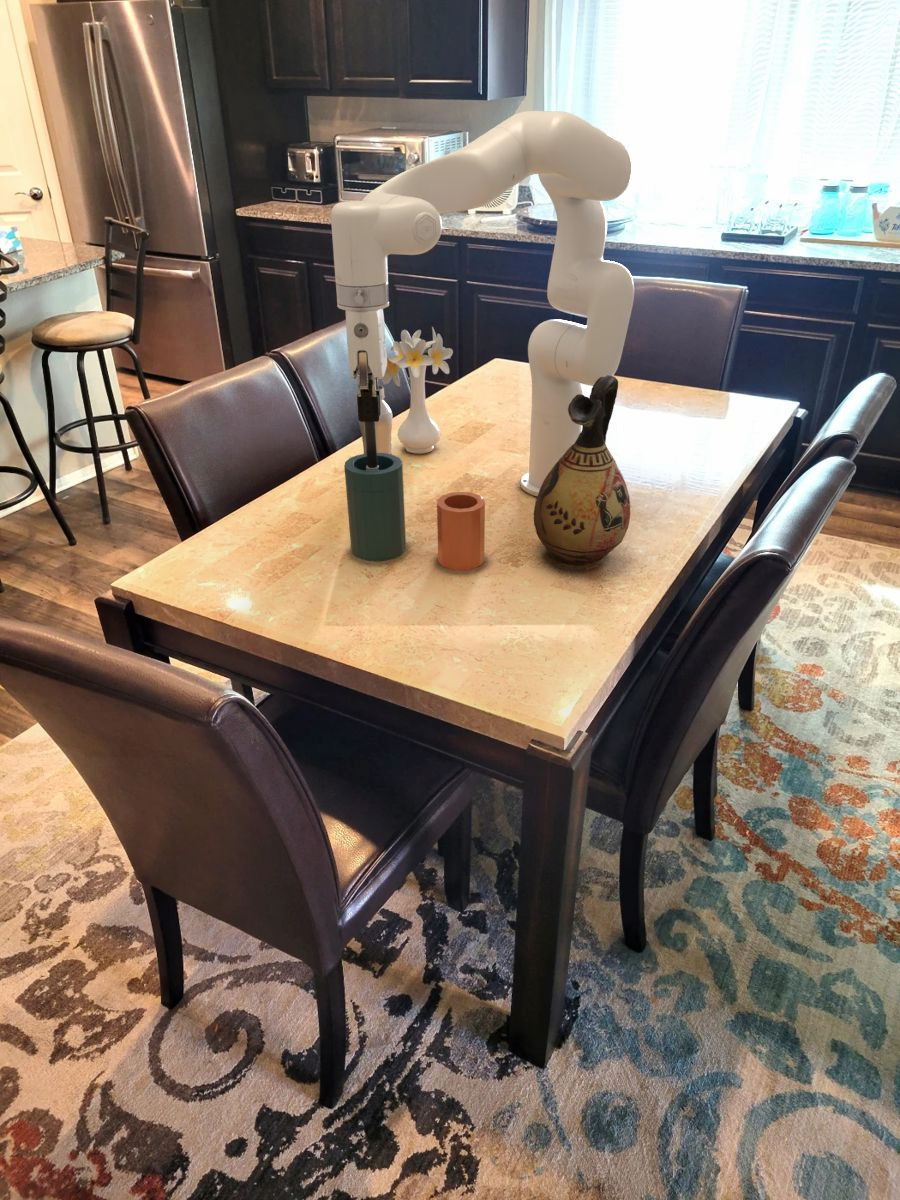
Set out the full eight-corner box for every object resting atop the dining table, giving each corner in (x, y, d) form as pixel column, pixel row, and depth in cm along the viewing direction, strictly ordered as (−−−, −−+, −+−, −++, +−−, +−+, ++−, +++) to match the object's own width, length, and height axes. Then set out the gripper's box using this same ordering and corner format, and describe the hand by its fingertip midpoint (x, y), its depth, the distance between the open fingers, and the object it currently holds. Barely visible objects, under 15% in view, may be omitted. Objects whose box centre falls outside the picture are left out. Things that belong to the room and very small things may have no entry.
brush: (385, 513, 142) (379, 383, 131) (384, 521, 140) (377, 390, 128) (366, 513, 143) (358, 383, 131) (364, 521, 140) (356, 390, 128)
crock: (483, 551, 144) (484, 491, 139) (484, 573, 138) (485, 511, 132) (438, 551, 144) (437, 491, 139) (437, 573, 138) (436, 512, 132)
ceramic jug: (603, 589, 133) (620, 402, 117) (515, 565, 140) (521, 385, 124) (643, 546, 145) (663, 371, 129) (560, 526, 152) (571, 358, 137)
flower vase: (371, 459, 181) (363, 340, 168) (415, 432, 194) (411, 320, 181) (423, 470, 175) (420, 347, 162) (466, 441, 189) (465, 326, 176)
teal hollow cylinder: (407, 538, 148) (403, 452, 140) (404, 564, 141) (400, 474, 132) (354, 539, 149) (348, 452, 140) (348, 564, 141) (341, 474, 132)
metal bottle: (392, 495, 164) (387, 393, 154) (358, 492, 166) (351, 392, 155) (400, 482, 170) (396, 383, 160) (368, 480, 171) (361, 381, 161)
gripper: (384, 307, 116) (390, 436, 126) (392, 284, 130) (397, 402, 139) (329, 307, 116) (339, 436, 126) (343, 285, 130) (351, 402, 139)
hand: (369, 417), depth 132 cm, fingers closed on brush, 1 cm apart
